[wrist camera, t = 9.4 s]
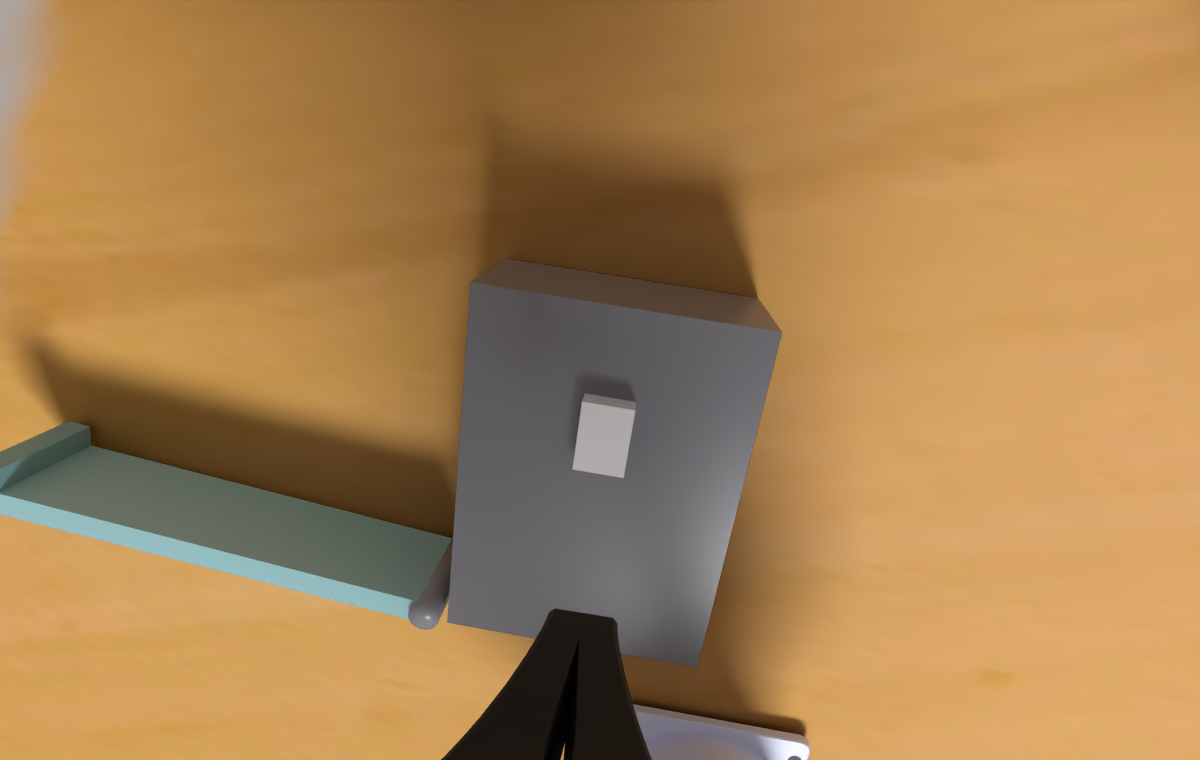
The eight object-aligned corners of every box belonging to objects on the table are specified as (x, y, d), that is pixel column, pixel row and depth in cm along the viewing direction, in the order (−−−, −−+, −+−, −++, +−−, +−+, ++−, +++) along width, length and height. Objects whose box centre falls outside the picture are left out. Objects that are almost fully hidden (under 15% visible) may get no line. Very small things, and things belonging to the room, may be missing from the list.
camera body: (685, 606, 23) (691, 707, 19) (479, 569, 24) (439, 661, 19) (758, 298, 19) (786, 338, 15) (506, 258, 20) (463, 286, 15)
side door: (477, 523, 23) (443, 591, 19) (470, 560, 23) (436, 633, 20) (72, 419, 23) (-36, 467, 19) (75, 459, 24) (-29, 512, 20)
